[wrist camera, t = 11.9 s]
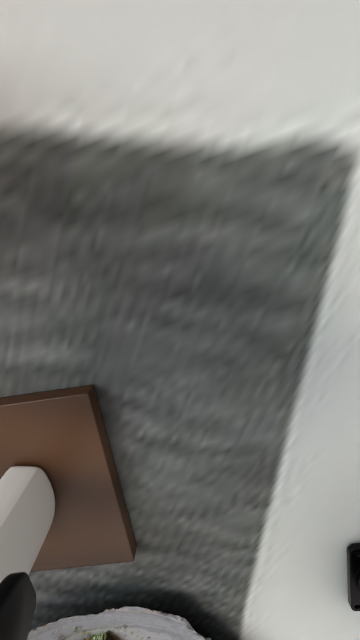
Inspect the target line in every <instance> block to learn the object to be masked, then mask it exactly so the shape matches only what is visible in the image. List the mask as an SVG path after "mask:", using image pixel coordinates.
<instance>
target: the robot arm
mask: <svg viewBox="0 0 360 640" xmlns="http://www.w3.org/2000/svg"><path fill="white" fill-rule="evenodd" d="M347 567H348V600H349V604H350V606H351V609H352V610H354V611H360V543H358V544H351V545H350V546H348V548H347ZM35 606H36V593H35V591H34V588H33V586H32V583H31V581H30V578H29V576H28V574H27V573H26V572H17V573H11V574H9V575H8V576H6V577H5V578H4V579H3V580H2V581H1V582H0V640H27V638H28V634H29V630H30V626H31V622H32V618H33V614H34V610H35Z"/></svg>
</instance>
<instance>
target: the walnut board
mask: <svg viewBox="0 0 360 640" xmlns="http://www.w3.org/2000/svg"><path fill="white" fill-rule="evenodd" d="M14 466H32V467H38V468H41V469H42V470H43V471H44V472H45V474H46V476H47V477H48V479H49V481H50V483H51V486H52V488H53V492H54V497H55V512H54V517H53V521H52V524H51V527H50V529H49V531H48V534H47V536H46V538H45V540H44V542H43V544H42V547H41V549H40V551H39V553H38V555H37V558H36V560H35V562H34V564H33V566H32V569H31V571H30V572H33V571H42V570H52V569H62V568H72V567H82V566H91V565H101V564H111V563H121V562H131V561H134V558H135V552H136V543H135V539H134V535H133V532H132V528H131V524H130V520H129V517H128V513H127V509H126V505H125V502H124V498H123V494H122V490H121V487H120V483H119V479H118V475H117V472H116V468H115V464H114V461H113V457H112V453H111V449H110V446H109V442H108V438H107V434H106V431H105V427H104V423H103V419H102V416H101V412H100V408H99V404H98V401H97V397H96V393H95V389H94V386H93V385H88V386H81V387H74V388H67V389H60V390H53V391H46V392H39V393H32V394H25V395H18V396H11V397H3V398H0V479H1V478H2V477H3V475H4V474H5V473H6V471H7V470H8V469H9V468H11V467H14Z"/></svg>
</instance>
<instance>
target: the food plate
mask: <svg viewBox="0 0 360 640" xmlns="http://www.w3.org/2000/svg"><path fill="white" fill-rule="evenodd" d="M57 620H58V621H56V622H54V623H49V624H46V625H44V626H42V627H39V628H37V627H36V628H37V629H36V630H34V629H33V630H32V631H30V632H29V634H28V638H27V640H211V638H204V637H203V636H201V635H199V634H198V633H197V632H196V631H195V630H194V629H193V628H192V627H191V625H190V624H189V622H188V621H187V620H186V619H185V618H182V617H180V616H177V615H175V616H174V615H173V614H165V612H164V613H162V611H159V612H158V611H155V610H153V611H152V610H151V611H150V610H149V609H147V608H145V609H144V608H140V607H127V606H124V607H122V608H120V609H116V610H115V609H114V608H112V609H110V610H105V611H104V612H101V613H99V614H97V615H94V614H91V615H87V616H86V615H85V616H82V615H81V616H80V615H79V616H72V617H70V618H65V619H64V618H62V619H57ZM187 626H188V627H190V628H191V629H189V628H188V627H187ZM192 629H193V630H194V631H193V630H192Z"/></svg>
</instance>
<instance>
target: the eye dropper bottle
mask: <svg viewBox="0 0 360 640" xmlns="http://www.w3.org/2000/svg"><path fill="white" fill-rule="evenodd" d="M54 512H55V497H54V492H53V488H52V486H51V483H50V481H49V479H48V477H47V476H46V474H45V472H44V471H43V470H42V469H41V468H38V467H32V466H14V467H11V468H9V469H8V470H7V471H6V473H5V474H4V475H3V477H2V478H1V479H0V582H1V581H2V580H3V579H4V578H5V577H6V576H8V575H9V574H11V573H17V572H26V573H27V574H28V575H29V573H30V571H31V569H32V566H33V564H34V562H35V560H36V558H37V555H38V553H39V551H40V549H41V547H42V544H43V542H44V540H45V538H46V536H47V534H48V531H49V529H50V527H51V524H52V521H53V517H54Z"/></svg>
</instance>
